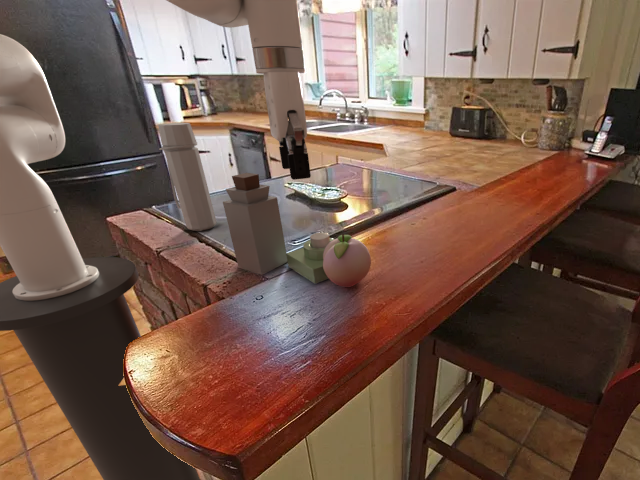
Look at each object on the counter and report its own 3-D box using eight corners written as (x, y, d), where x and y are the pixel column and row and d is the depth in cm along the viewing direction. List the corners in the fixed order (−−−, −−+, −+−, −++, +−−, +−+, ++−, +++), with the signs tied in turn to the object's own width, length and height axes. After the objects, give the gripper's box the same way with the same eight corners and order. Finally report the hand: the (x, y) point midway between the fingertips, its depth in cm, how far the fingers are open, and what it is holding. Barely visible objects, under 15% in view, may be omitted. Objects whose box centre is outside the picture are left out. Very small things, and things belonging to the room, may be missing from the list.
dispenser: (288, 266, 72) (284, 243, 70) (330, 252, 78) (327, 230, 76) (315, 284, 66) (311, 259, 63) (358, 266, 72) (357, 243, 69)
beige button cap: (307, 245, 70) (306, 235, 69) (323, 240, 72) (322, 231, 71) (317, 251, 68) (316, 241, 67) (333, 245, 70) (332, 235, 69)
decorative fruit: (375, 297, 61) (372, 242, 57) (326, 302, 60) (319, 247, 56) (369, 272, 70) (366, 223, 65) (326, 276, 68) (320, 226, 64)
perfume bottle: (265, 255, 77) (248, 170, 69) (287, 261, 74) (272, 173, 66) (238, 267, 72) (216, 177, 64) (261, 275, 69) (242, 181, 61)
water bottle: (224, 222, 96) (199, 122, 85) (205, 233, 90) (175, 125, 78) (193, 221, 98) (165, 122, 87) (172, 231, 91) (139, 125, 80)
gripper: (250, 65, 62) (268, 166, 70) (260, 58, 48) (281, 186, 56) (294, 66, 65) (307, 163, 73) (316, 59, 51) (328, 180, 59)
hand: (295, 173), depth 64 cm, fingers open, 9 cm apart
